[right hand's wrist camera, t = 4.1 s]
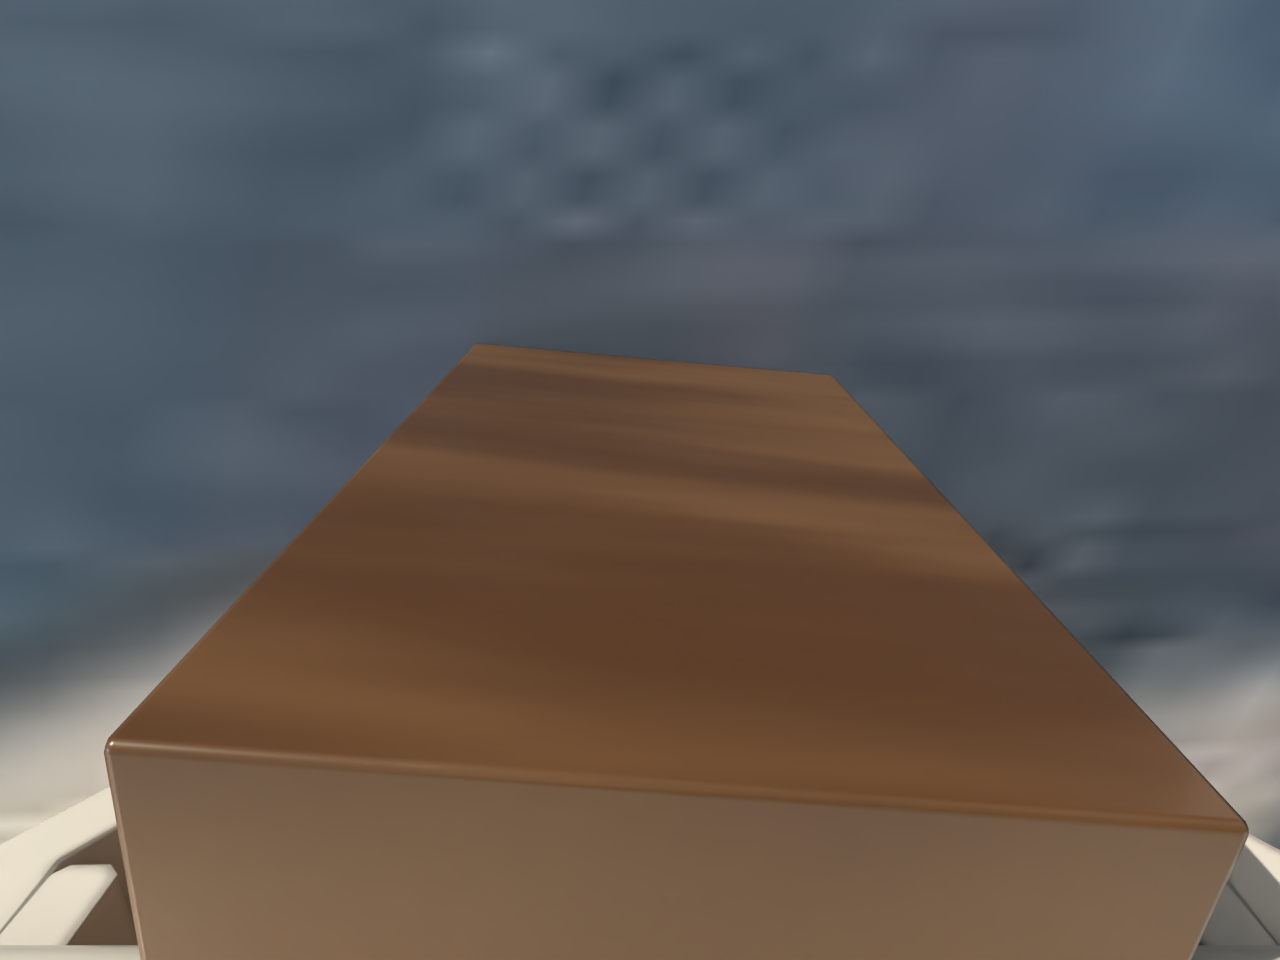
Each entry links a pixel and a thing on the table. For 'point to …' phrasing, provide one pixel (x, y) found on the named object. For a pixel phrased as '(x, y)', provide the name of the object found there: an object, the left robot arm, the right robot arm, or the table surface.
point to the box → (652, 707)
